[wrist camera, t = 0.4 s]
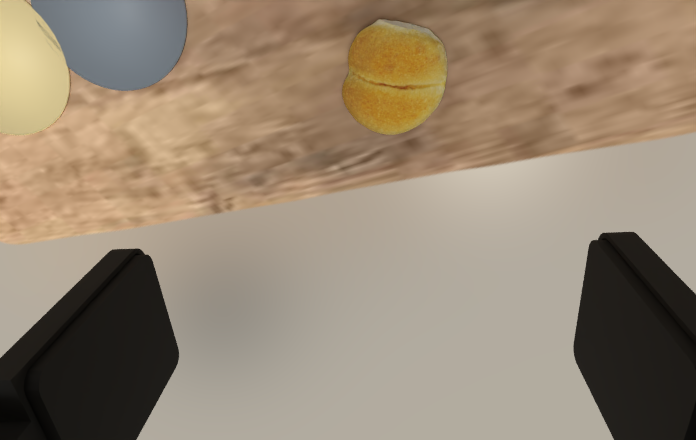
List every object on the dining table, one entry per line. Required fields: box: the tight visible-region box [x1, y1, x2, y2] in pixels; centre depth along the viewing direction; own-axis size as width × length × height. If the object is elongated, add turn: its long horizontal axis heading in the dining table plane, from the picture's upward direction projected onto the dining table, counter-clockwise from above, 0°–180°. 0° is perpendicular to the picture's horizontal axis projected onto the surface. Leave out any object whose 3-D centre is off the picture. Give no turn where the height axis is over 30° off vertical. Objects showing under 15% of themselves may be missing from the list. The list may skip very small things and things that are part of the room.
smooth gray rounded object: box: [31, 0, 187, 91], centre depth 40 cm, size 13×13×1 cm
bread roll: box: [342, 19, 447, 135], centre depth 39 cm, size 8×9×4 cm
